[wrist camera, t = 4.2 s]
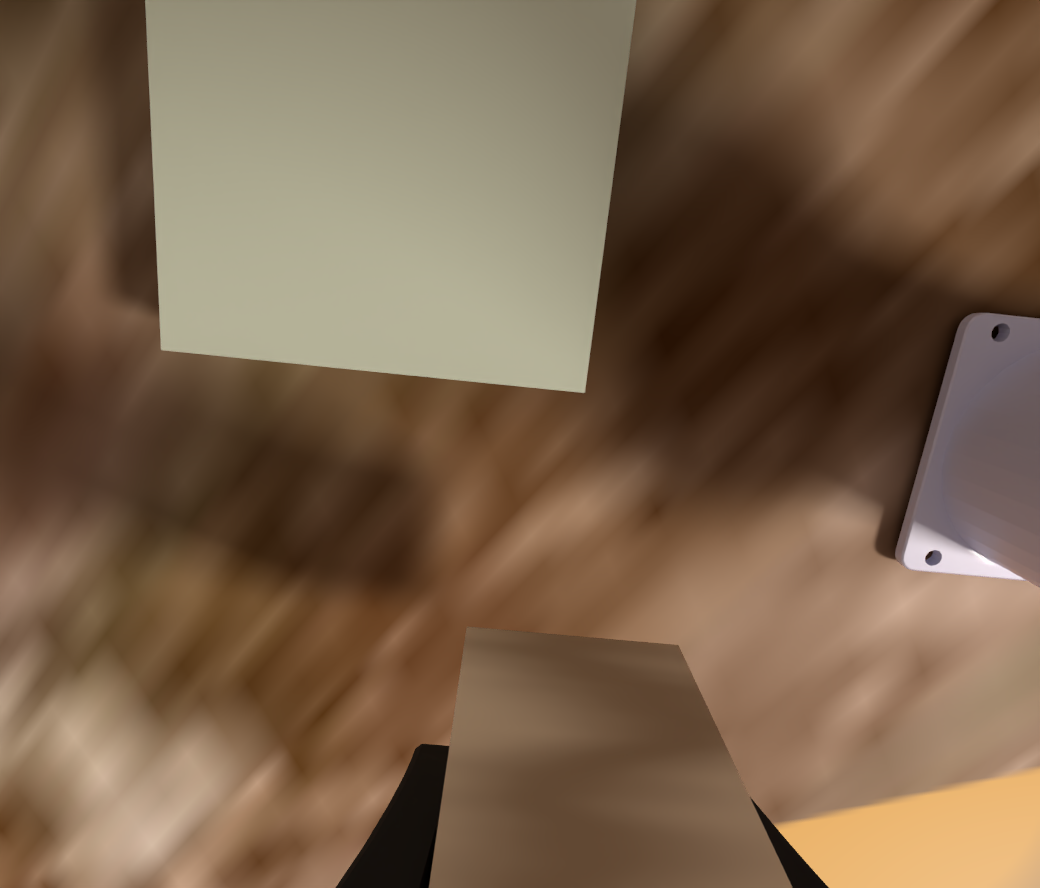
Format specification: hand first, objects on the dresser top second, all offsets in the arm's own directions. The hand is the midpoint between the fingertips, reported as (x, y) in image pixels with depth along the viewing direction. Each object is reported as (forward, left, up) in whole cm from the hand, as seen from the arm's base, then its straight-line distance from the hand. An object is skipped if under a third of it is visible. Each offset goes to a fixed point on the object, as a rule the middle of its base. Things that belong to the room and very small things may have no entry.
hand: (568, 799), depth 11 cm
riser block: (+5, -12, -8) cm, 15 cm away
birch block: (0, 0, -2) cm, 2 cm away
